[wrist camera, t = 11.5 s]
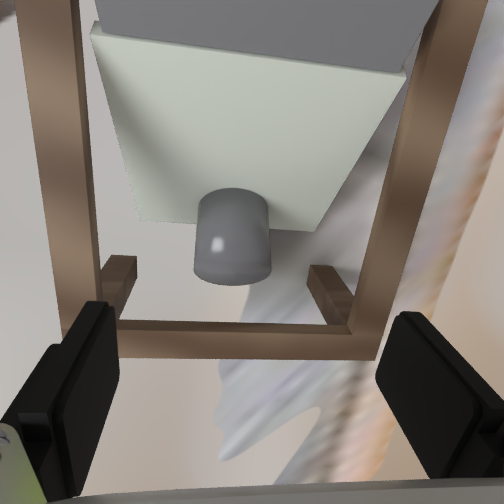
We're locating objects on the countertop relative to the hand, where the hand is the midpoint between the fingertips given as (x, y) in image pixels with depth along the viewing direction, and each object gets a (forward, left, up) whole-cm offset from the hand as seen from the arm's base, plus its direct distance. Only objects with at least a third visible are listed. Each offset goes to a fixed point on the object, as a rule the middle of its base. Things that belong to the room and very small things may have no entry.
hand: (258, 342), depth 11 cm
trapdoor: (-6, 0, -12) cm, 14 cm away
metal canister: (0, 0, -15) cm, 15 cm away
